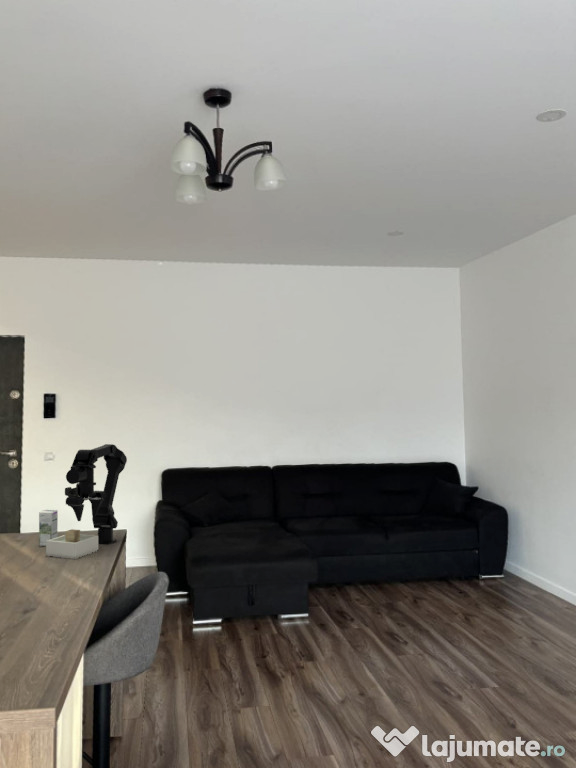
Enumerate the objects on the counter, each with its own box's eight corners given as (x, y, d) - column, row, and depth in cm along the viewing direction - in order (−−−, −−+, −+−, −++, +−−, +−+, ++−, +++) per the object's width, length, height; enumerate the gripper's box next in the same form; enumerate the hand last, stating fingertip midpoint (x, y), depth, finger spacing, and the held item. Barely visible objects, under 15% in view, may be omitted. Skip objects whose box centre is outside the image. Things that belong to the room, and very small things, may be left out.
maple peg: (71, 549, 254) (71, 529, 255) (80, 549, 253) (80, 529, 253) (65, 551, 251) (65, 531, 251) (73, 552, 249) (73, 532, 249)
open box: (70, 547, 261) (70, 533, 261) (98, 550, 256) (98, 535, 256) (46, 556, 248) (46, 540, 248) (75, 559, 243) (75, 543, 243)
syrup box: (58, 543, 269) (58, 509, 269) (51, 546, 263) (51, 512, 263) (45, 543, 269) (45, 509, 269) (38, 546, 263) (38, 511, 263)
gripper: (85, 476, 267) (85, 513, 267) (54, 482, 250) (54, 522, 250) (107, 477, 263) (107, 515, 263) (77, 484, 246) (77, 524, 246)
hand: (86, 518), depth 256 cm, fingers open, 9 cm apart
